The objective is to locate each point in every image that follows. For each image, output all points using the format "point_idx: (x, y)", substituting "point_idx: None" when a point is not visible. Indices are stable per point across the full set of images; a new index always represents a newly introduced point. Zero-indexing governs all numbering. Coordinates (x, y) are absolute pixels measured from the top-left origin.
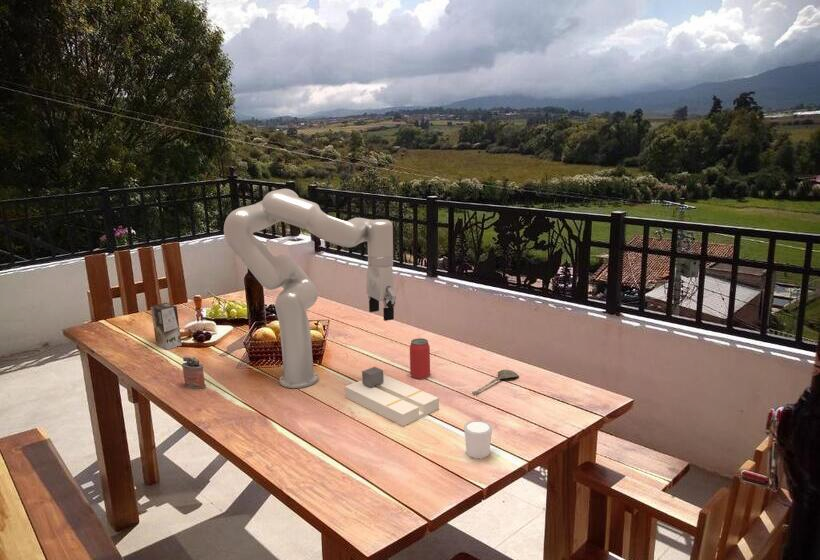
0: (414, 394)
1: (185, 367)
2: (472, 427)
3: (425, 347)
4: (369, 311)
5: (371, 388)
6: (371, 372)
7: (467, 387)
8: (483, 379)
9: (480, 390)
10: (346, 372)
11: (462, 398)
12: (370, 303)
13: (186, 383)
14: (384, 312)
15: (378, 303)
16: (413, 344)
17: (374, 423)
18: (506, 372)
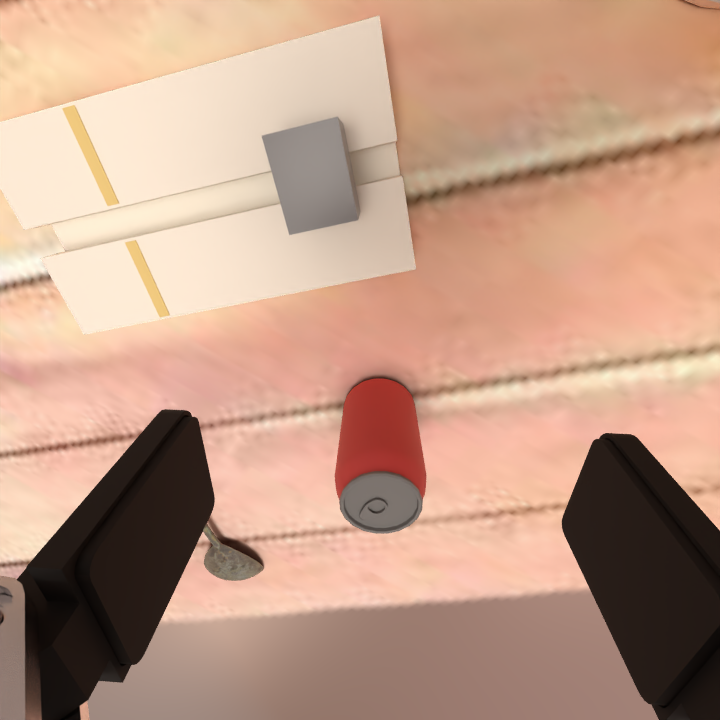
0: (141, 277)
1: None
2: None
3: (338, 493)
4: (629, 434)
5: None
6: (292, 161)
7: (221, 460)
8: (249, 514)
9: None
10: (620, 183)
11: (157, 411)
12: (684, 551)
13: None
14: (94, 495)
15: (609, 622)
16: (373, 471)
17: (69, 30)
18: (219, 567)
